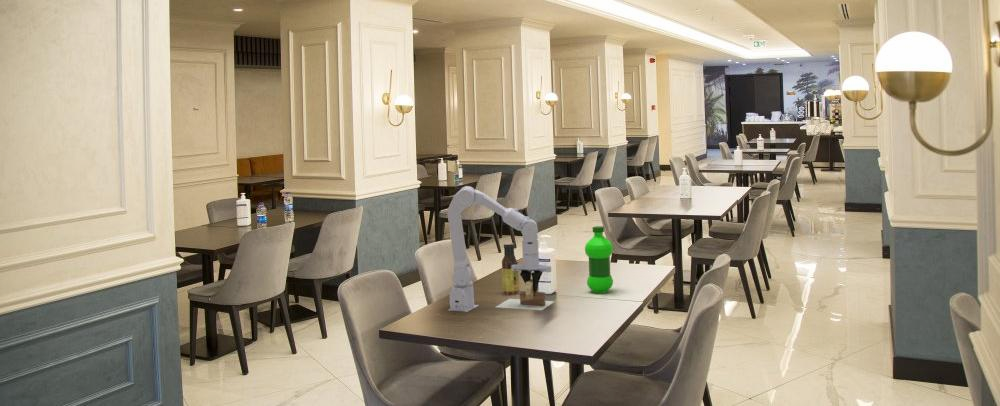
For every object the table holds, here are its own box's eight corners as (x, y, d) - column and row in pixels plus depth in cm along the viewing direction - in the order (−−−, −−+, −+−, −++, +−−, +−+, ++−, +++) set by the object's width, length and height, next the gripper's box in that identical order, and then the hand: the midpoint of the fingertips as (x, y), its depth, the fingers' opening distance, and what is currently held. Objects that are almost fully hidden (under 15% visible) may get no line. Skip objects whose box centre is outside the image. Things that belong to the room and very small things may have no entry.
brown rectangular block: (543, 306, 268) (543, 293, 268) (520, 304, 272) (519, 292, 271) (545, 304, 270) (544, 292, 269) (522, 303, 274) (521, 291, 273)
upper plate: (530, 299, 267) (530, 282, 266) (525, 299, 267) (525, 282, 267) (538, 294, 274) (538, 278, 273) (534, 294, 275) (533, 278, 274)
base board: (542, 311, 263) (541, 310, 262) (495, 308, 270) (494, 307, 270) (554, 302, 274) (554, 301, 274) (509, 300, 282) (509, 298, 282)
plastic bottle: (595, 287, 296) (593, 224, 293) (619, 290, 289) (617, 226, 286) (581, 293, 288) (579, 228, 285) (605, 296, 281) (603, 229, 278)
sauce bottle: (517, 296, 287) (515, 245, 285) (501, 296, 288) (499, 245, 286) (520, 292, 293) (518, 242, 291) (504, 292, 294) (502, 242, 292)
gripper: (553, 252, 269) (555, 289, 271) (516, 251, 275) (517, 287, 277) (546, 255, 263) (548, 294, 265) (508, 254, 269) (510, 291, 271)
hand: (532, 291), depth 270 cm, fingers closed on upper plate, 2 cm apart
